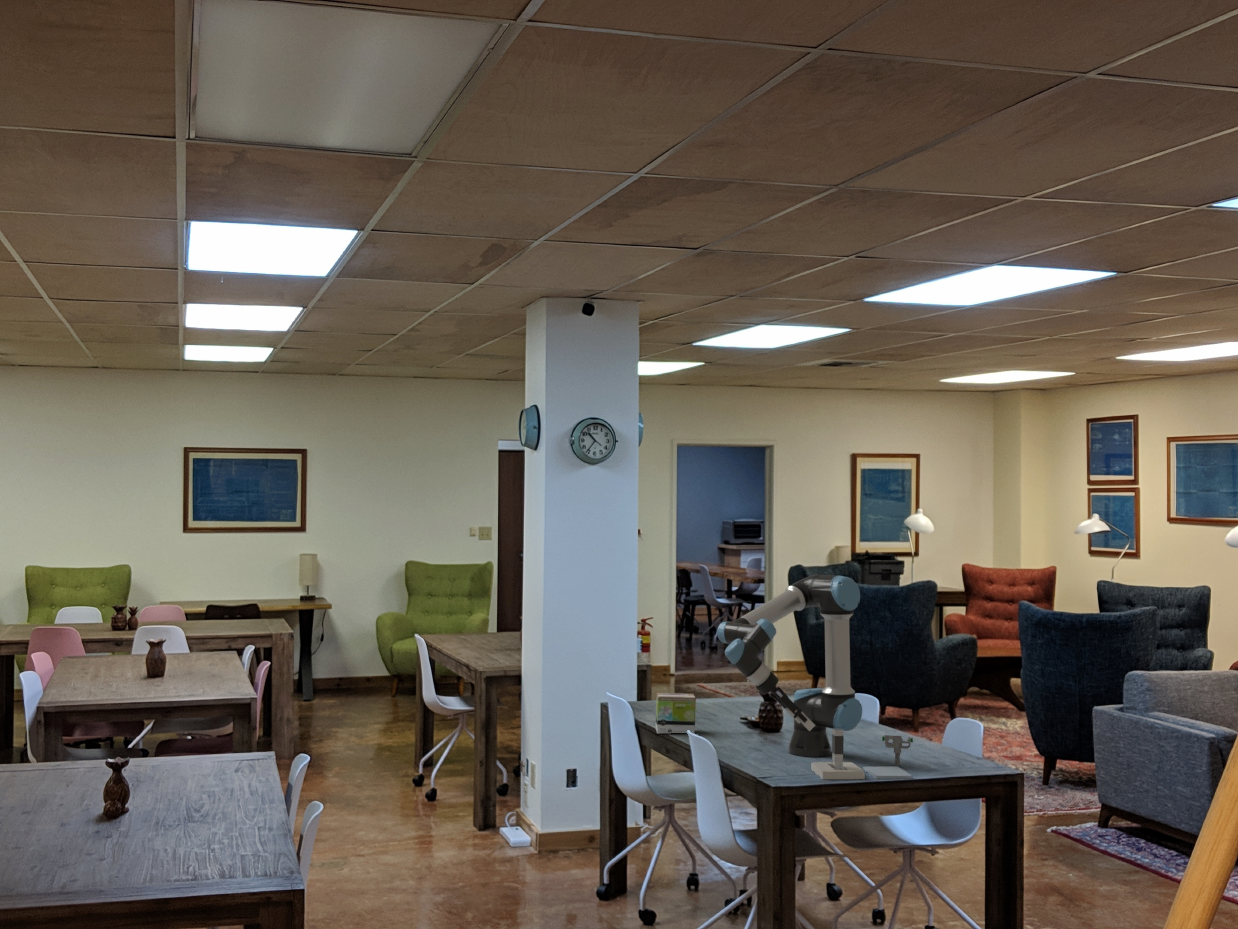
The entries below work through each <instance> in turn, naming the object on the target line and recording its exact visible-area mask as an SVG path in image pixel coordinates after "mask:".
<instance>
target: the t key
mask: <svg viewBox="0 0 1238 929" xmlns="http://www.w3.org/2000/svg"><path fill="white" fill-rule="evenodd" d="M844 743H845V742H844V731H843V729H841V728H833V729H832V734H831V756H832V759H831V760H832V766H830V767H832V768H833V769H834V770H844V769H843V762H844Z"/></svg>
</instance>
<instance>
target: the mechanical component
mask: <svg viewBox="0 0 1238 929" xmlns="http://www.w3.org/2000/svg"><path fill="white" fill-rule="evenodd" d="M907 738H908V739H907V740H906V741H905V740H904V739H903V737H902V736H901V735H887V734H886V735H884V736H881V740H882V742H884V744H885V747H886V748H888V749H893V753H894V765H895V767H900V765H901V764H900V763H901V761H900V760H901V758H900V756H901V754H902V749H905V750H907V749H910V748H911V745H912V744H911V743H913V742H914V738H913V737H911V736H908V737H907ZM890 740H891V741H892V742H889V741H890ZM903 744H908V745H903Z"/></svg>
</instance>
